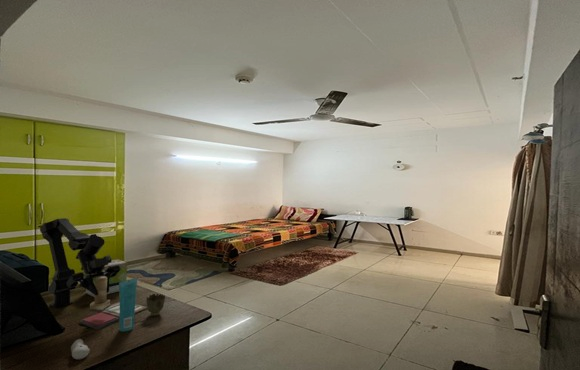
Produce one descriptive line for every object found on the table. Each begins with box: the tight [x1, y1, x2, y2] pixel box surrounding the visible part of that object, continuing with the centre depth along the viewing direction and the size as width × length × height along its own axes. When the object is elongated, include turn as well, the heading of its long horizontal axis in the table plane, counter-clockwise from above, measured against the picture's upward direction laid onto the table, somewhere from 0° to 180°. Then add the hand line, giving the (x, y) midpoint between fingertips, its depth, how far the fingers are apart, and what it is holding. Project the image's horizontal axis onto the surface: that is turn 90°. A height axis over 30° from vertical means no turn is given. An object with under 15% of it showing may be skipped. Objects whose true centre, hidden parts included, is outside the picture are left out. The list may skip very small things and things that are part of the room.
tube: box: [118, 276, 138, 332], centre depth 117 cm, size 7×5×19 cm, turn 158°
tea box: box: [85, 258, 128, 298], centre depth 153 cm, size 15×10×15 cm
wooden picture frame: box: [102, 301, 148, 319], centre depth 133 cm, size 16×12×1 cm
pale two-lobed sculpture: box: [70, 338, 91, 360], centre depth 99 cm, size 4×8×5 cm
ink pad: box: [78, 312, 120, 331], centre depth 121 cm, size 11×9×1 cm
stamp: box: [89, 276, 111, 313], centre depth 121 cm, size 5×5×12 cm
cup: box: [146, 293, 166, 317], centre depth 130 cm, size 8×7×8 cm
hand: (102, 293), depth 121 cm, fingers closed on stamp, 4 cm apart
